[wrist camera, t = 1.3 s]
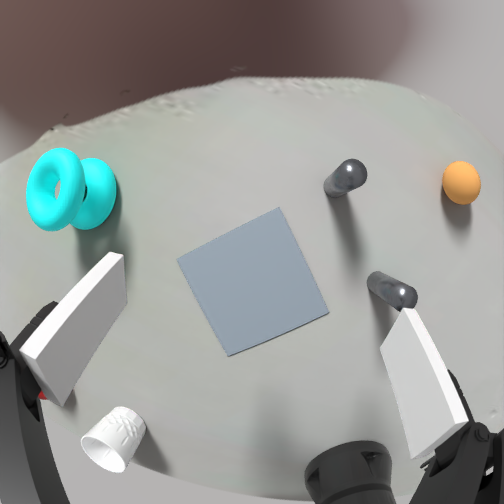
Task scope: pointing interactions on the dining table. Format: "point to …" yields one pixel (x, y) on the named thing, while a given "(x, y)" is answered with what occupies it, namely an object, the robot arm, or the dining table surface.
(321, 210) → the dining table surface
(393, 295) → the far post
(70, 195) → the donuts
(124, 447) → the white cup
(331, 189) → the near post
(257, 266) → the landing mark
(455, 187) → the ball
